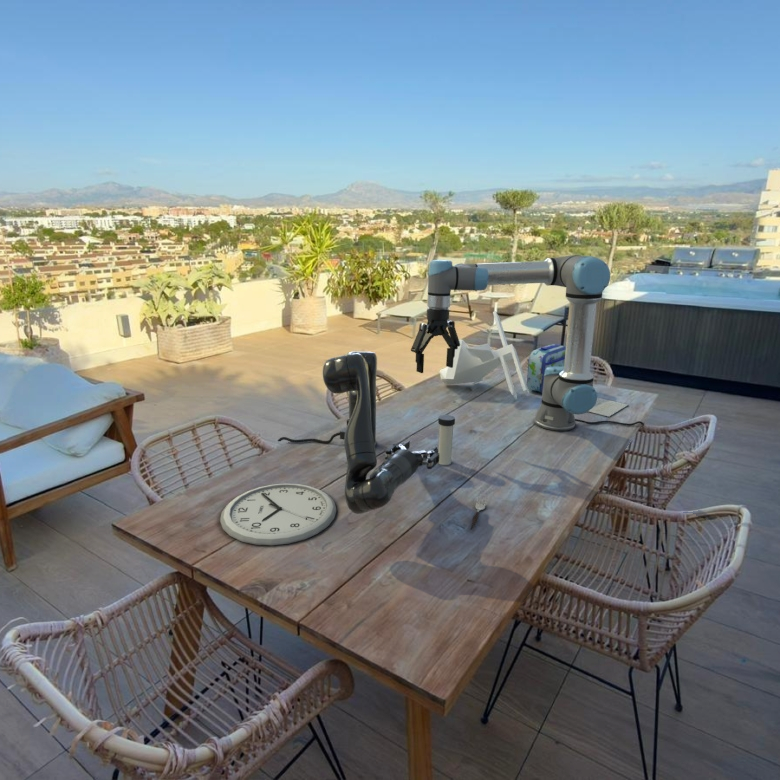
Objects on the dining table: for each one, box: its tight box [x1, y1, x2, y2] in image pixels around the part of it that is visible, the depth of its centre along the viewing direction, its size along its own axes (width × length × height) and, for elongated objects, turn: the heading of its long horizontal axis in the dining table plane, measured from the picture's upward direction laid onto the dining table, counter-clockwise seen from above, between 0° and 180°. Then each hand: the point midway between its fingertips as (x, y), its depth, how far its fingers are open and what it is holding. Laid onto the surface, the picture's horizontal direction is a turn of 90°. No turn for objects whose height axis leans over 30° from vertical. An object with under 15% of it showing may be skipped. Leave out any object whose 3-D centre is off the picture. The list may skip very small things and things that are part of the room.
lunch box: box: [526, 343, 566, 394], centre depth 247 cm, size 26×11×21 cm, turn 134°
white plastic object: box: [438, 310, 531, 400], centre depth 245 cm, size 37×45×31 cm
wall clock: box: [219, 483, 337, 546], centre depth 138 cm, size 30×2×30 cm
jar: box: [437, 424, 454, 466], centre depth 168 cm, size 4×4×15 cm
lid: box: [437, 414, 456, 427], centre depth 166 cm, size 5×5×2 cm
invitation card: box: [587, 397, 629, 418], centre depth 226 cm, size 21×1×15 cm
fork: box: [470, 495, 488, 530], centre depth 138 cm, size 3×16×2 cm, turn 160°
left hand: (422, 446), depth 149 cm, fingers open, 8 cm apart
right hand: (434, 369), depth 180 cm, fingers open, 13 cm apart
